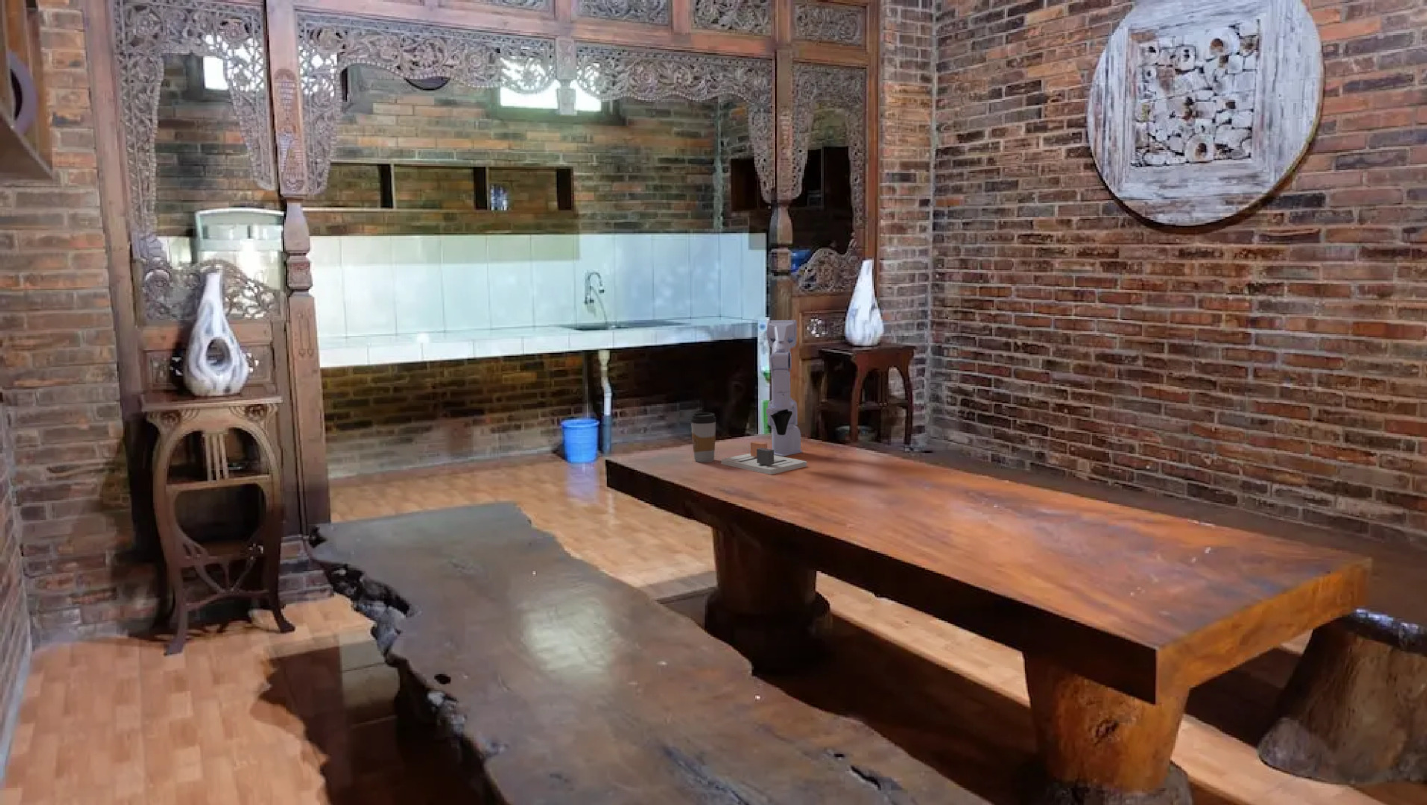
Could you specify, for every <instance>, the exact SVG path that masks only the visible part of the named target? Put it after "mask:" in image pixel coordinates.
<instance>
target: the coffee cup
mask: <svg viewBox="0 0 1427 805" xmlns="http://www.w3.org/2000/svg"><path fill="white" fill-rule="evenodd" d="M715 415H716V414H715V413H712V412H696V413H692V414H691V417H690V426H691V440H692V449H693V459H694V461H695V462H697V463H711V462H714V459H715V450H716V426H717V425H716V424H717V423H716V422H717V417H716V416H715Z"/></svg>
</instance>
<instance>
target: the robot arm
mask: <svg viewBox="0 0 1427 805" xmlns="http://www.w3.org/2000/svg"><path fill="white" fill-rule="evenodd" d="M766 337H767V344H768V347H770V348H771V354H770V356H769V368H770V377H771V400H769V401H768V403H767V407H766V408H765V415H766V416H767V425H768V426H770V427H771V450H774V455H776V456H781V457H786V456H793V455H796V454H799V453H803V450H802V446H801V445H802V444H801V442H802V441H801V439H802V438H801V437H802V435H801V430H800V428H799V426H797V425H798V404H797V401H796V400H794V399H793V398H792V397H791V371H792V353H791V349H793V348H794V347H796V346H797V339H798V338H797V337H798V322H797V320H796V319H787V320H786V319H784V320H783V319H782V320H771V319H769V320H767V322H766Z"/></svg>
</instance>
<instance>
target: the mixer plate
mask: <svg viewBox="0 0 1427 805" xmlns="http://www.w3.org/2000/svg"><path fill="white" fill-rule="evenodd" d="M720 464H721V465H723V466H728V467H733V468H738V469H743V470H747V471H751V472H755V473H756V472H757V473H761V474H765V475H775V474H779V473H783V472H784V473H785V472H787V471H791V470H792V471H793V470H797V469H801V468H805V467H808V461H805V460H801V459H795V458H790V457H786V456H779V455H774V464H772V465H764V464H759V463H757V457H754V456H751V452H750V453H746V454H741V455H735V456H731V457H725V458H721V459H720Z"/></svg>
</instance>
